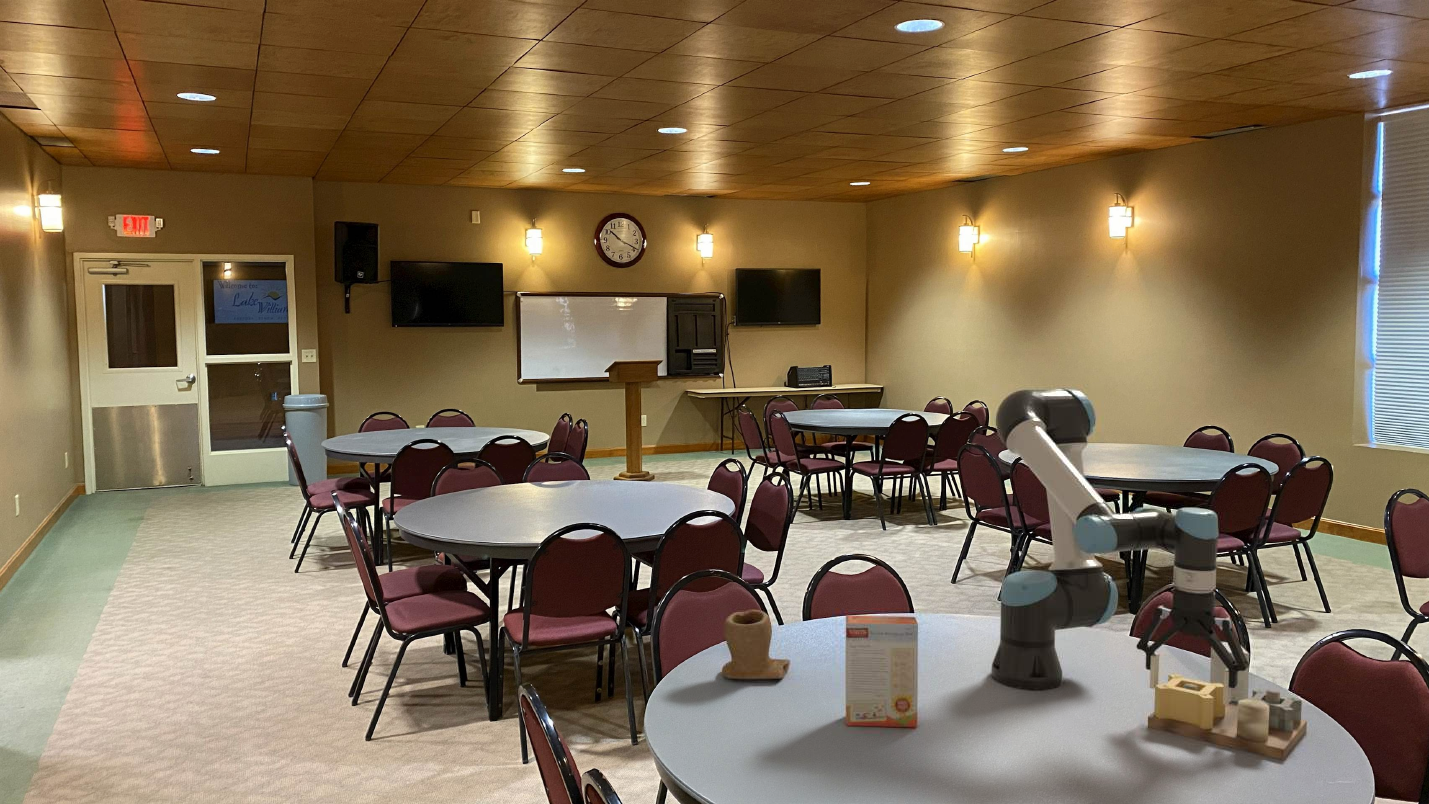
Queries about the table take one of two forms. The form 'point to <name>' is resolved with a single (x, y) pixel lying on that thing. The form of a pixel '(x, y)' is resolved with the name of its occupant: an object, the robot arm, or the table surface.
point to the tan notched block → (1189, 701)
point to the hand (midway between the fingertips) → (1189, 694)
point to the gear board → (1230, 736)
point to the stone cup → (751, 647)
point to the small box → (1218, 674)
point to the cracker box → (881, 671)
